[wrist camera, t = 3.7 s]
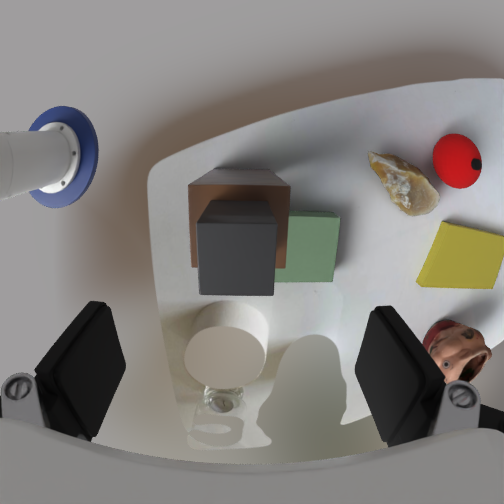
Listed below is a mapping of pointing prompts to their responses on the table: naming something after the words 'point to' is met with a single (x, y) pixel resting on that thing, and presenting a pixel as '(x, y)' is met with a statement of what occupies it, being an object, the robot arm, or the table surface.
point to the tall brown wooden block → (241, 189)
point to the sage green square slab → (310, 247)
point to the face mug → (457, 350)
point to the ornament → (457, 161)
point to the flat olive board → (462, 258)
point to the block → (236, 248)
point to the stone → (405, 184)
